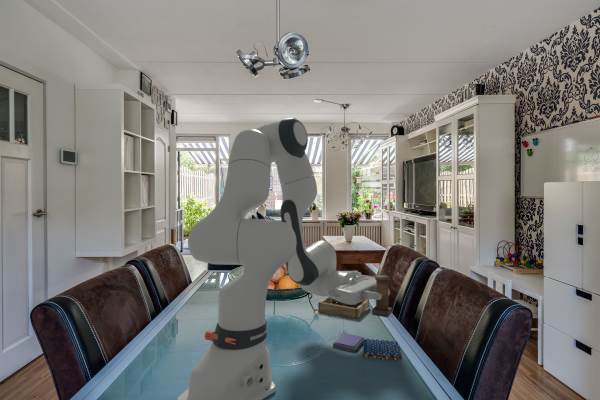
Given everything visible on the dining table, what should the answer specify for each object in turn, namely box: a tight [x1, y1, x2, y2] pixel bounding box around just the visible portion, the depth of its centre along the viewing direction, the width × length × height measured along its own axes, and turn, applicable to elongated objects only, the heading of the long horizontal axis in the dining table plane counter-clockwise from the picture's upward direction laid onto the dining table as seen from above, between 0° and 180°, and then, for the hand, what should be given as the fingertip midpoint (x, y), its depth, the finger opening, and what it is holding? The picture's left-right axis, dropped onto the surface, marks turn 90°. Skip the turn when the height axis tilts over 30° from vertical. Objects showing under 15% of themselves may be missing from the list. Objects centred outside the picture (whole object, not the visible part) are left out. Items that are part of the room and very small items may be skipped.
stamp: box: [371, 274, 393, 318], centre depth 98 cm, size 4×4×11 cm
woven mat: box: [362, 338, 403, 361], centre depth 98 cm, size 10×11×2 cm
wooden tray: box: [317, 296, 370, 319], centre depth 135 cm, size 14×16×4 cm
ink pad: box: [332, 332, 366, 353], centre depth 103 cm, size 9×7×1 cm
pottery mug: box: [338, 301, 362, 308], centre depth 135 cm, size 12×10×8 cm
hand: (385, 294), depth 98 cm, fingers closed on stamp, 3 cm apart
